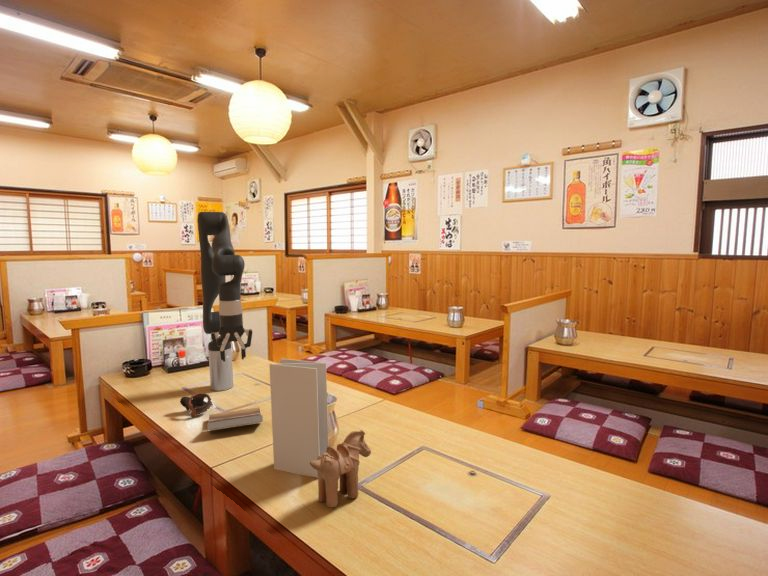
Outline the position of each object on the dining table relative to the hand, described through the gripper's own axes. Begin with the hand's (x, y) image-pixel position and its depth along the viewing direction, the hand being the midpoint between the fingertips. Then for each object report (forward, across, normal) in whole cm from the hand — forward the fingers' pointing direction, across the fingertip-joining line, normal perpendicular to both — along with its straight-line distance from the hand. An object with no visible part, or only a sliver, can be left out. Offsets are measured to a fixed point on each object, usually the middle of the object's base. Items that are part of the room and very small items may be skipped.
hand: (233, 359), depth 148 cm
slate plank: (+20, 0, +11) cm, 22 cm away
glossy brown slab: (+21, 0, +2) cm, 22 cm away
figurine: (+22, -24, +58) cm, 66 cm away
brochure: (+22, -16, +42) cm, 50 cm away
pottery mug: (+22, +14, -11) cm, 28 cm away
